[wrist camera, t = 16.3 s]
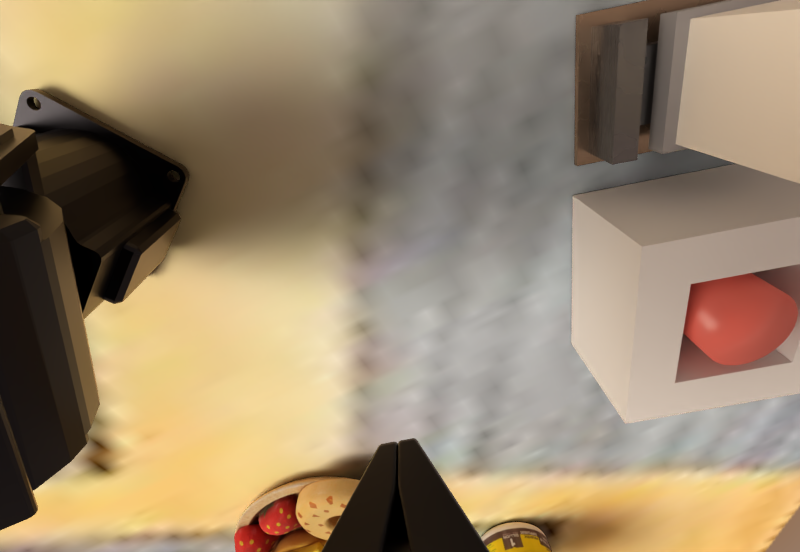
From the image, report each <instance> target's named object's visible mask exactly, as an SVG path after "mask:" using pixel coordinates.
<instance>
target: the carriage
mask: <svg viewBox="0 0 800 552" xmlns="http://www.w3.org/2000/svg"><path fill="white" fill-rule="evenodd" d="M648 149H650V150H653V151H655V152H658V153H661V154H665V153H670V152H675V151H680V150H685V149H692V150H695V151H699V152H702V153H705V154H708V155H711V156H714V157H717V158H721V159H724V160H727V161H730V162H733V163H736V164H739V165H742V166H746V167H749V168H752V169H755V170H758V171H761V172H764V173H768V174H771V175H774V176H777V177H780V178H783V179H786V180H790V181H793V182H796V183H799V184H800V0H725V1H720V2H716V3H711V4H706V5H701V6H696V7H692V8H687V9H682V10H677V11H673V12H668V13H663V14H660V25H659V36H658V47H657V58H656V69H655V80H654V91H653V103H652V114H651V125H650V136H649V147H648Z"/></svg>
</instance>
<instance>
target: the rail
mask: <svg viewBox="0 0 800 552" xmlns="http://www.w3.org/2000/svg"><path fill="white" fill-rule="evenodd" d="M720 1H725V0H647V1H642V2H637V3H632V4H628V5H623V6H618V7H613V8H609V9H604V10H599V11H594V12H590V13H585V14H580V15H576V56H575V157H574V164H575V165H576V166H579V165H584V164H589V163H595V162H600V161H606V162H608V163H610V164H612V165H613V164H618V163H623V162H628V161H633V160H637V155H638V154H640V153H645V152H650V151H653V150H650V149H648V147H649V136H650V125H651V114H652V103H653V91H654V80H655V69H656V58H657V47H658V36H659V25H660V14H663V13H668V12H673V11H677V10H682V9H687V8H692V7H696V6H701V5H706V4H711V3H716V2H720Z"/></svg>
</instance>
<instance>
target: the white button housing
mask: <svg viewBox="0 0 800 552" xmlns="http://www.w3.org/2000/svg"><path fill="white" fill-rule="evenodd" d="M748 273H752V274H754V275H756V276H757V277H759V278H761V279H762V280H764V281H766V282H767V283H769V284H771V285H773V286H774V287H776V288H778V289H779V290H781V291H783V292H784V293H786V294H788V295H789V296H790V297H792V298H793V300H794V301H795V303H796V305H797V308H798V317H797V321H796V324H795V326H794V328H793V330H792V332H791V333H790V335H789V336H788V337H787V339H786V340H785V341H784V342H783V343H782V344H781V345H780V346H779V347H777V348H776V349H775V350H774V351H772V352H771V353H769V354H768V355H766V356H764V357H762V358H760V359H758V360H755V361H753V362H750V363H746V364H742V365H723V364H719V363H717V362H715V361H713V360H712V359H711V358H709V357H708V356H707V355H706V354H705V353H704V352H703V351H702V350H701V349H700V348H699V347H698V346H696V345H695V344H694V343H693V342H692V341H691V340H690V339H689V338H688V337H687V336H686V335H684V334H683V330H684V324H685V317H686V311H687V305H688V299H689V293H690V287H691V284H694V283H700V282H705V281H711V280H716V279H721V278H727V277H732V276H738V275H743V274H748ZM571 344H572V345H573V347H574V348H575V350H576V351H577V353H578V354H579V355H580V357H581V358H582V360H583V361H584V363H585V364H586V366H587V367H588V369H589V370H590V372H591V373H592V375H593V376H594V378H595V379H596V381H597V382H598V384H599V385H600V387H601V388H602V390H603V391H604V393H605V394H606V396H607V397H608V399H609V400H610V401H611V403H612V404H613V406H614V407H615V409H616V410H617V412H618V413H619V415H620V416H621V418H622V419H623V421H624V422H625V424H627V423H632V422H638V421H644V420H649V419H655V418H661V417H667V416H672V415H678V414H684V413H689V412H695V411H701V410H706V409H712V408H718V407H724V406H729V405H735V404H741V403H746V402H752V401H758V400H763V399H769V398H775V397H781V396H786V395H792V394H798V393H800V184H799V183H796V182H793V181H790V180H786V179H783V178H780V177H777V176H774V175H771V174H768V173H764V172H761V171H758V170H755V169H752V168H749V167H746V166H742V165H739V164H731V165H726V166H721V167H716V168H711V169H706V170H701V171H696V172H690V173H685V174H680V175H675V176H670V177H665V178H660V179H655V180H649V181H644V182H639V183H634V184H629V185H624V186H619V187H614V188H608V189H603V190H598V191H593V192H588V193H583V194H578V195H573V215H572V336H571Z"/></svg>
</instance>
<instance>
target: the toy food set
mask: <svg viewBox="0 0 800 552" xmlns="http://www.w3.org/2000/svg"><path fill="white" fill-rule="evenodd" d="M359 481H360V480H357V479H352V478H346V477H336V476H320V477H310V478H304V479H299V480H296V481H292V482H289V483H286V484H284V485H282V486H279V487H277V488H275V489H273V490H271V491H269V492H267V493H265V494H264V495H262V496H261V497H259V498H258V499H256V500H255V501H254V502H253V503H252V504H251V505H250V506H249V507H248V508H247V509H246V510H245V511H244V512H243V514H242V515H241V517H240V519H239V521H238V523H237V527H236V532H235V537H234V539H235V550H236V552H321V551H322V549H323V547H324V545H325V544H326V542H327V540H328V538H329V536H330V534H331V533H332V531H333V529H334V527H335V525H336V523H337V522H338V520H339V518H340V516H341V514H342V512H343V511H344V509H345V507H346V505H347V503H348V501H349V500H350V498H351V496H352V494H353V492H354V490H355V489H356V487H357V485H358V483H359Z"/></svg>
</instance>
